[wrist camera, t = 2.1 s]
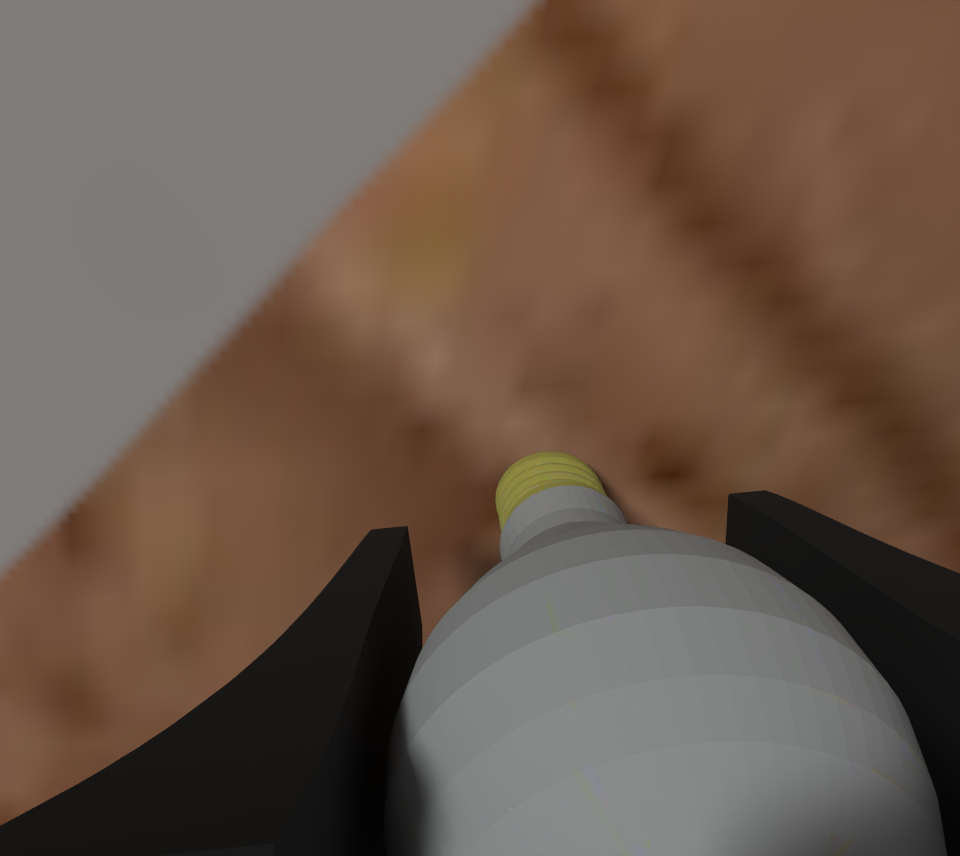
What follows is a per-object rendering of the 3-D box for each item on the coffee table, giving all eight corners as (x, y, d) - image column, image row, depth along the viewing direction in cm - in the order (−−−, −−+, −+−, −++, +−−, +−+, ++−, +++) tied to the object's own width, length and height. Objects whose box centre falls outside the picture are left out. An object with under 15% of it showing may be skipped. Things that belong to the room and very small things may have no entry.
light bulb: (653, 596, 15) (979, 1288, 6) (410, 589, 15) (352, 1316, 6) (698, 364, 13) (1304, 859, 4) (419, 348, 13) (351, 860, 4)
